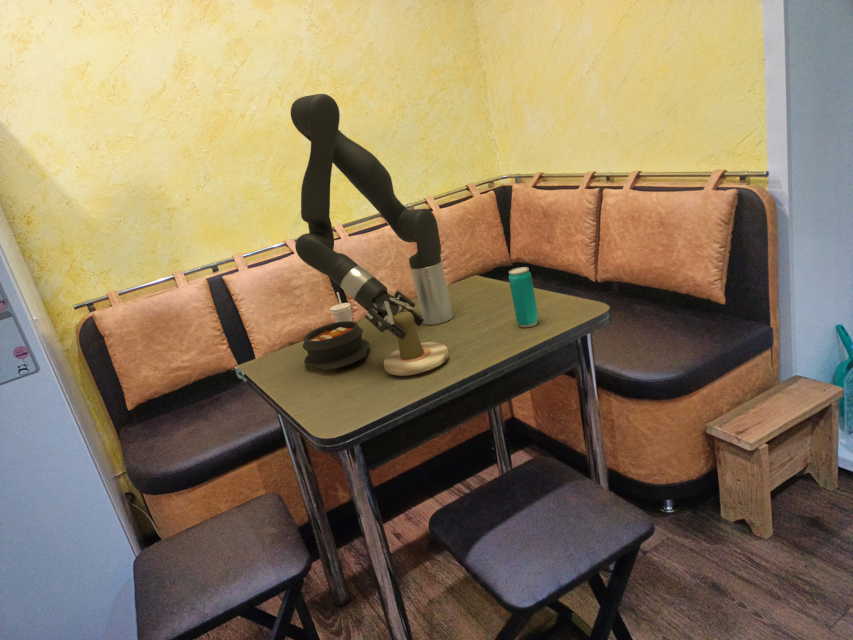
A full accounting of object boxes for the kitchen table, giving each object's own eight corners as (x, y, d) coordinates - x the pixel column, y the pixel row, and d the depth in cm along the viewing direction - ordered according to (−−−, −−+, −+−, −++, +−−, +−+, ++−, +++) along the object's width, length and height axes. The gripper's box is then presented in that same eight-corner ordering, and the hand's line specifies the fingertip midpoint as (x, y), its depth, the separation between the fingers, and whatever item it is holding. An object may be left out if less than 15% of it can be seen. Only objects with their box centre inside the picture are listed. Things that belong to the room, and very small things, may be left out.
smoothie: (362, 331, 184) (350, 288, 180) (351, 339, 179) (339, 295, 175) (345, 332, 187) (333, 290, 183) (334, 340, 182) (321, 297, 178)
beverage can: (539, 319, 160) (530, 265, 155) (539, 326, 154) (529, 271, 150) (518, 322, 161) (508, 269, 156) (517, 329, 156) (507, 274, 151)
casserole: (383, 359, 157) (375, 330, 154) (315, 383, 151) (306, 353, 149) (358, 337, 180) (351, 311, 177) (298, 357, 174) (290, 331, 172)
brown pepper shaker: (421, 358, 144) (410, 315, 140) (397, 361, 145) (386, 319, 142) (426, 348, 149) (416, 307, 146) (403, 351, 151) (393, 311, 148)
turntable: (396, 355, 158) (393, 345, 157) (454, 348, 153) (452, 338, 152) (377, 382, 143) (374, 371, 142) (441, 375, 138) (439, 364, 137)
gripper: (353, 286, 139) (405, 330, 137) (385, 268, 151) (434, 308, 148) (341, 308, 143) (391, 352, 141) (373, 289, 155) (420, 329, 152)
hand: (413, 329), depth 144 cm, fingers open, 8 cm apart
